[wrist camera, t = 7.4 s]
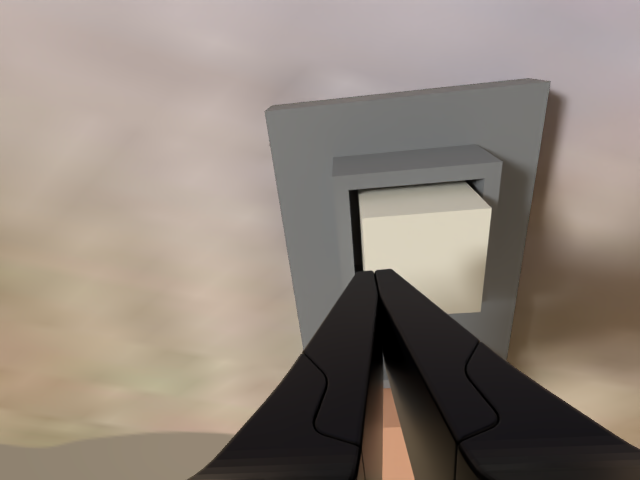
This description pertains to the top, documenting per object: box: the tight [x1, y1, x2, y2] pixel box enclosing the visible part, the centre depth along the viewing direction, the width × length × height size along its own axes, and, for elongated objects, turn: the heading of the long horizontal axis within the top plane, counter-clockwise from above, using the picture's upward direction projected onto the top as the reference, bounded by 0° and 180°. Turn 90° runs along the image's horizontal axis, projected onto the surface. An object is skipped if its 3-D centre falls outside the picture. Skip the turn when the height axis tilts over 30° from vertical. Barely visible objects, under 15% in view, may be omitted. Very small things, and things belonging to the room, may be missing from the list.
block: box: [265, 78, 551, 388], centre depth 20 cm, size 12×22×5 cm, turn 6°
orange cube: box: [382, 388, 415, 480], centre depth 20 cm, size 4×4×4 cm
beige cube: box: [358, 180, 492, 314], centre depth 15 cm, size 4×4×4 cm
